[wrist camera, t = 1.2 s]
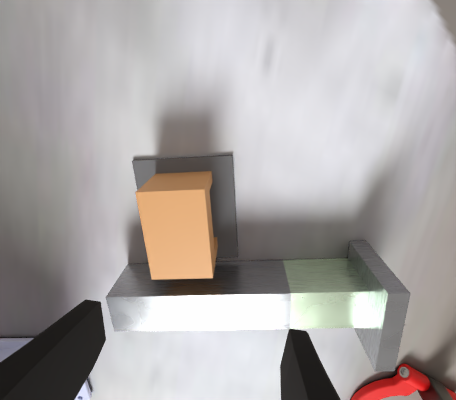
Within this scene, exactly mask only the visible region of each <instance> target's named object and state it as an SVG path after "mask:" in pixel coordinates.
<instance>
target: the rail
mask: <svg viewBox="0 0 456 400" xmlns="http://www.w3.org/2000/svg"><path fill="white" fill-rule="evenodd" d="M409 298H410V292H409V291H408V290H407V289H406V288H405V286H404V285H403V284H402V283H401V282H400V280H399V279H398V278H397V277H396V276H395V274H394V273H393V272H392V271H391V270H390V269H389V267H388V266H387V265H386V264H385V263H384V261H383V260H382V259H381V258H380V257H379V256H378V254H377V253H376V252H375V251H374V250H373V248H372V247H371V246H370V245H369V244H368V243H367V241H350V242H349V251H348V258H335V259H299V260H262V261H225V262H215V268H214V275H213V278H200V279H158V280H152V279H151V273H150V268H149V264H128V265H127V266H126V268H125V269H124V271H123V272H122V274H121V275H120V277H119V278H118V280H117V281H116V283H115V284H114V286H113V287H112V289H111V290H110V292H109V293H108V295H107V296H106V300H107V304H108V308H109V312H110V316H111V319H112V323H113V327H114V331H181V330H266V329H303V328H354V329H355V331H356V333H357V335H358V337H359V339H360V341H361V343H362V345H363V348H364V350H365V352H366V354H367V356H368V358H369V360H370V362H371V364H372V366H373V368H374V370H375V371H395V367H396V362H397V357H398V352H399V347H400V342H401V337H402V332H403V327H404V323H405V318H406V313H407V308H408V303H409Z"/></svg>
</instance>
